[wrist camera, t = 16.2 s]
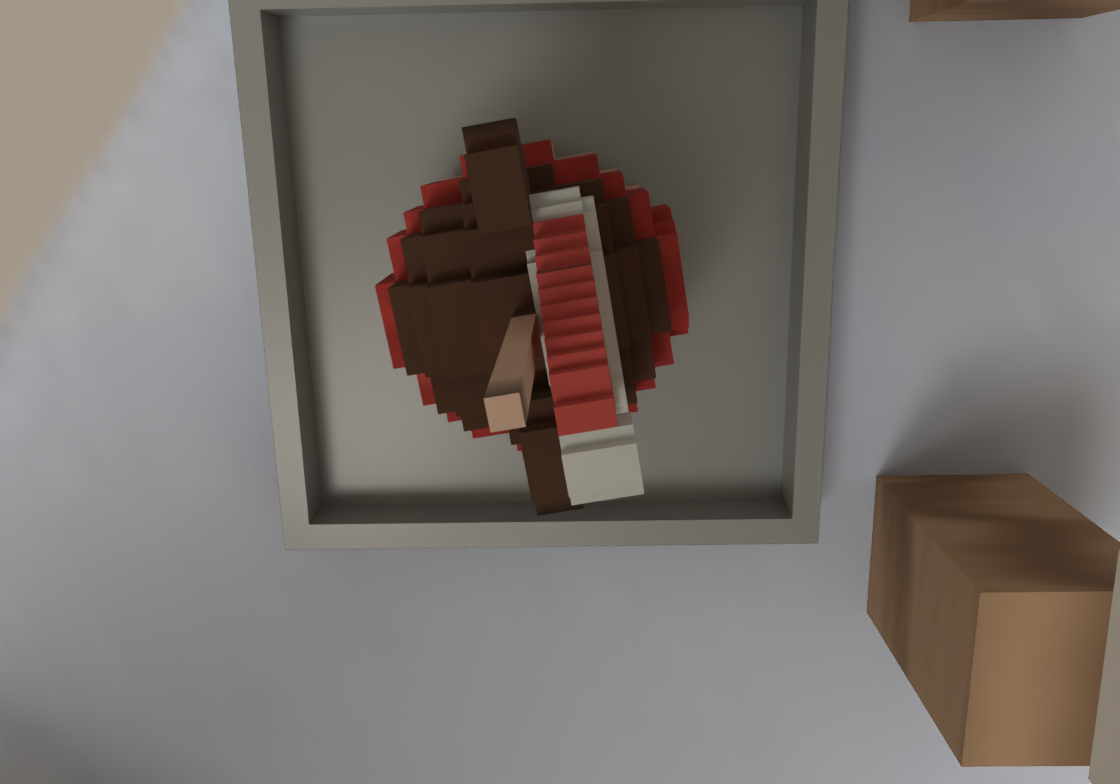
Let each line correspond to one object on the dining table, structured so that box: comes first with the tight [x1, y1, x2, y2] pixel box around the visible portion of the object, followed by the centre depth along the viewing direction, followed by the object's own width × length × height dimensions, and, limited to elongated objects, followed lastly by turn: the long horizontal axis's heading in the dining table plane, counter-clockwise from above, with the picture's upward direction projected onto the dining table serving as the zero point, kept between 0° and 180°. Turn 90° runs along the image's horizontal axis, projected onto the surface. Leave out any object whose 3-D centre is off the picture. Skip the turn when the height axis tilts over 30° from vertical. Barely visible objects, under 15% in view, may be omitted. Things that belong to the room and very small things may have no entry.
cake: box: [375, 118, 690, 516], centre depth 26 cm, size 11×9×18 cm
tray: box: [228, 0, 849, 550], centre depth 34 cm, size 20×20×3 cm
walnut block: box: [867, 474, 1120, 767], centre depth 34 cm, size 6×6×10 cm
